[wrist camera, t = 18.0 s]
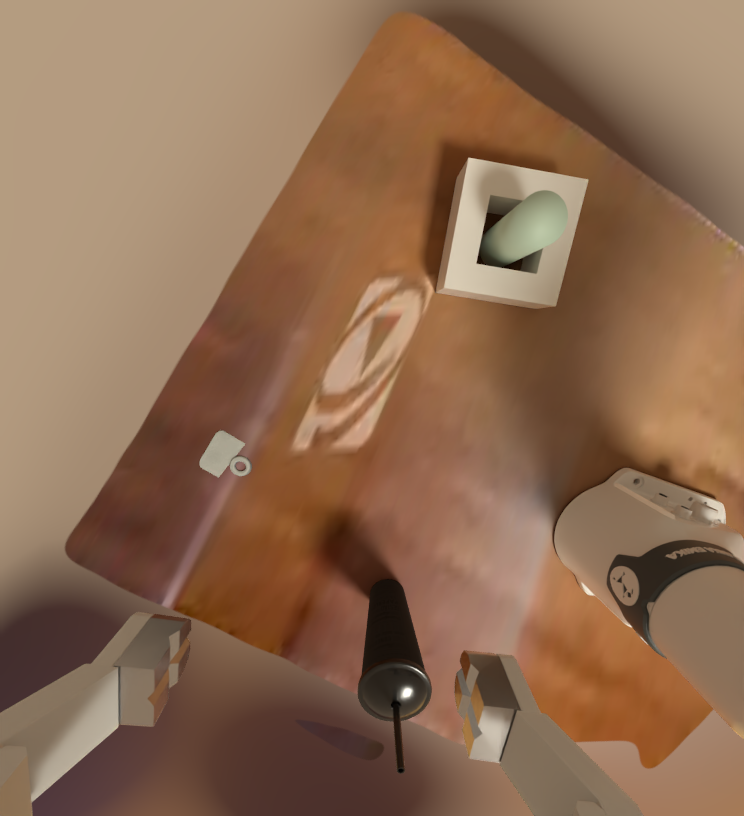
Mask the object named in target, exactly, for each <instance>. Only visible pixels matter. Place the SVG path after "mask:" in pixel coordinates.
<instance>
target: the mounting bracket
mask: <svg viewBox="0 0 744 816" xmlns="http://www.w3.org/2000/svg"><path fill="white" fill-rule="evenodd" d="M244 445H245V443H243V442H241V441H240V440H238V439H236V438H235V437H233V436H231V435H230V434H228V433H226V432H225V431H219V432H217V433H216V434H215V436H214V437H213V439H212V441H211V443H210V444H209V446H208V448H207V449H206V451H205V453H204V454H203V456H202V458H201V459H200V467H201V468H203V469H204V470H206V471H208V472H210V473H212V474H213V475H215V476H217V477H219V476H220V475H221V474H222V473H223V471H224V470H225V469H226V468H227V466H228V465H229V464H230V469H231V471H232V472H233V473H234V474H235V475H238V476H245V475H247V474H248V473H249V472H250V471H251V469H252V464H251V462H250V460H249V459H248V458H246V457H244V456H236V455H237V454H238V452H239V451H240V450H241V449H242V447H243V446H244ZM235 456H236V457H235ZM239 461H241V462H244V463H245V465H246V469H245V470H244V471H239V470H237V469H236V463H237V462H239Z"/></svg>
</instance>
